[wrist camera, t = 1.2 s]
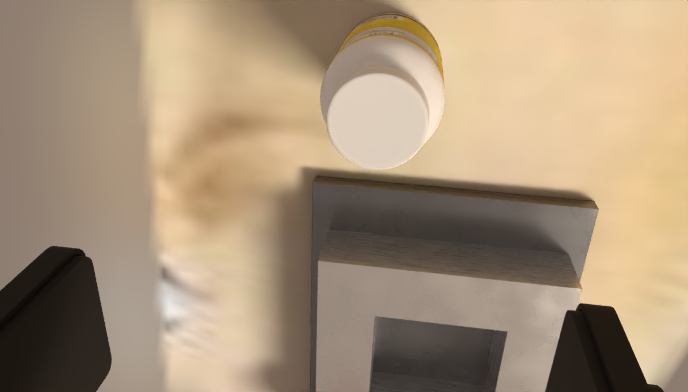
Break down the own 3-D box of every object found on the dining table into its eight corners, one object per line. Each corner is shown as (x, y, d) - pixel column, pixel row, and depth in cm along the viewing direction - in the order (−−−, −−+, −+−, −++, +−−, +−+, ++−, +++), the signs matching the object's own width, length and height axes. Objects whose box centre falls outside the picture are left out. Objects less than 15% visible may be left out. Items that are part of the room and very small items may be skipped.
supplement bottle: (402, 130, 33) (390, 211, 24) (322, 74, 32) (280, 137, 23) (464, 51, 30) (476, 108, 22) (379, -11, 29) (356, 22, 21)
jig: (315, 175, 35) (298, 215, 30) (594, 201, 33) (619, 246, 28) (312, 418, 44) (298, 476, 39) (530, 448, 42) (542, 512, 37)
